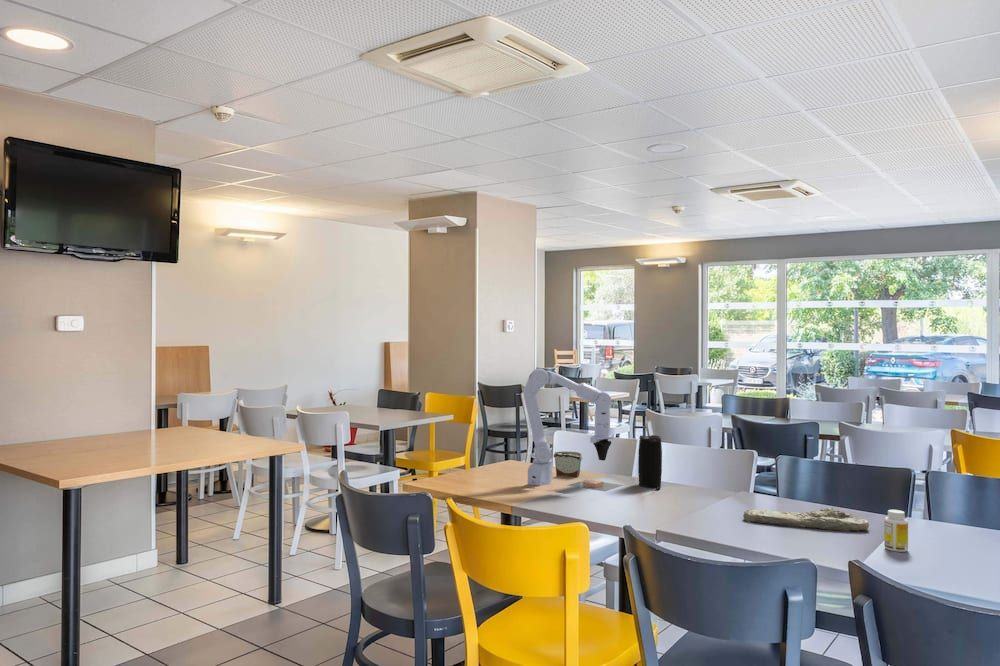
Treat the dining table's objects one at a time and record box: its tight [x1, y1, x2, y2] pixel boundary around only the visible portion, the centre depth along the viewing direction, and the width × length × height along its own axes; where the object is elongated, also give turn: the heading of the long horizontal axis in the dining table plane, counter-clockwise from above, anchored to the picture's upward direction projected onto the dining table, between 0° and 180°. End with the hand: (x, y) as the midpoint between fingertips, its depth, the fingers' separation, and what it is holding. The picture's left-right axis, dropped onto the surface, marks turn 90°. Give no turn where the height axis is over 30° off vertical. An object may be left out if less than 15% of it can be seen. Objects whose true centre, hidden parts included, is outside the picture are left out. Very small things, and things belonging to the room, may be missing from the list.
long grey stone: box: [742, 507, 870, 532], centre depth 215 cm, size 35×5×10 cm
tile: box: [583, 479, 605, 488], centre depth 263 cm, size 2×6×6 cm
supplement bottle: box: [883, 509, 909, 553], centre depth 190 cm, size 6×6×10 cm
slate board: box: [566, 479, 624, 492], centre depth 264 cm, size 14×16×1 cm
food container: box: [553, 450, 584, 478], centre depth 284 cm, size 12×6×10 cm, turn 58°
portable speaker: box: [637, 434, 663, 492], centre depth 264 cm, size 9×9×20 cm
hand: (602, 460), depth 268 cm, fingers closed
